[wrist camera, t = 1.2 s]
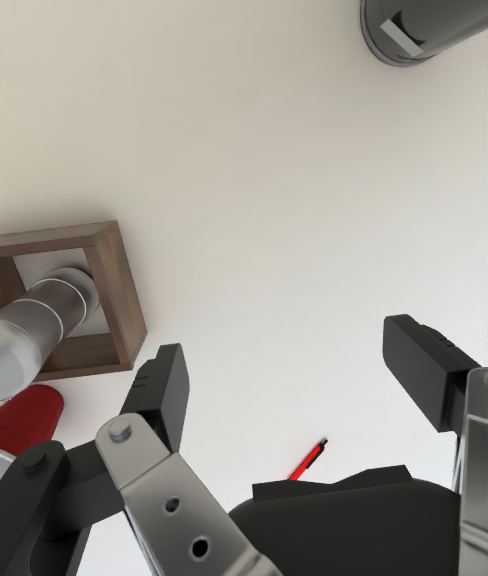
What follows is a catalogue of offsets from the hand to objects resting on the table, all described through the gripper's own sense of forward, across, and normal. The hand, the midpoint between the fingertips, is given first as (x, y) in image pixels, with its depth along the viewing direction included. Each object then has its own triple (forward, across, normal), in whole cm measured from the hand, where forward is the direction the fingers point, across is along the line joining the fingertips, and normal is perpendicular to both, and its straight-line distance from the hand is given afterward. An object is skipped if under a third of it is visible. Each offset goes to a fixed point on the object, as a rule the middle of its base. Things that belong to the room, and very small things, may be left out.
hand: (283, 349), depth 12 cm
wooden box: (+25, +21, +5) cm, 33 cm away
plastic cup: (+26, +31, +20) cm, 45 cm away
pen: (+26, -3, +42) cm, 49 cm away
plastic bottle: (+25, +21, +5) cm, 33 cm away
